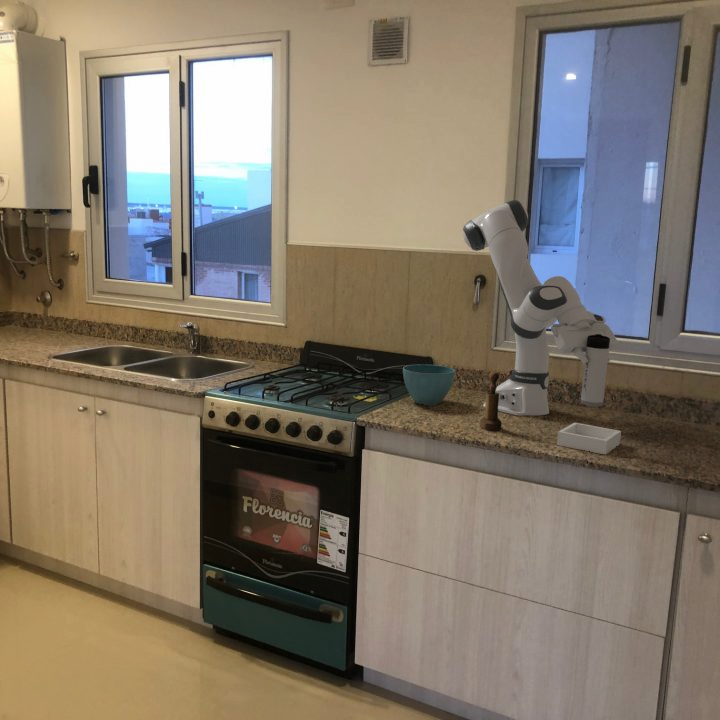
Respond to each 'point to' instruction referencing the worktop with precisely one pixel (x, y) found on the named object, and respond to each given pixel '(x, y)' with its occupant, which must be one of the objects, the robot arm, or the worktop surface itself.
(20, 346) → the worktop surface
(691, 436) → the worktop surface
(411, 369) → the teal bowl
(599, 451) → the tray
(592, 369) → the travel mug
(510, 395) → the robot arm
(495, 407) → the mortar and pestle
